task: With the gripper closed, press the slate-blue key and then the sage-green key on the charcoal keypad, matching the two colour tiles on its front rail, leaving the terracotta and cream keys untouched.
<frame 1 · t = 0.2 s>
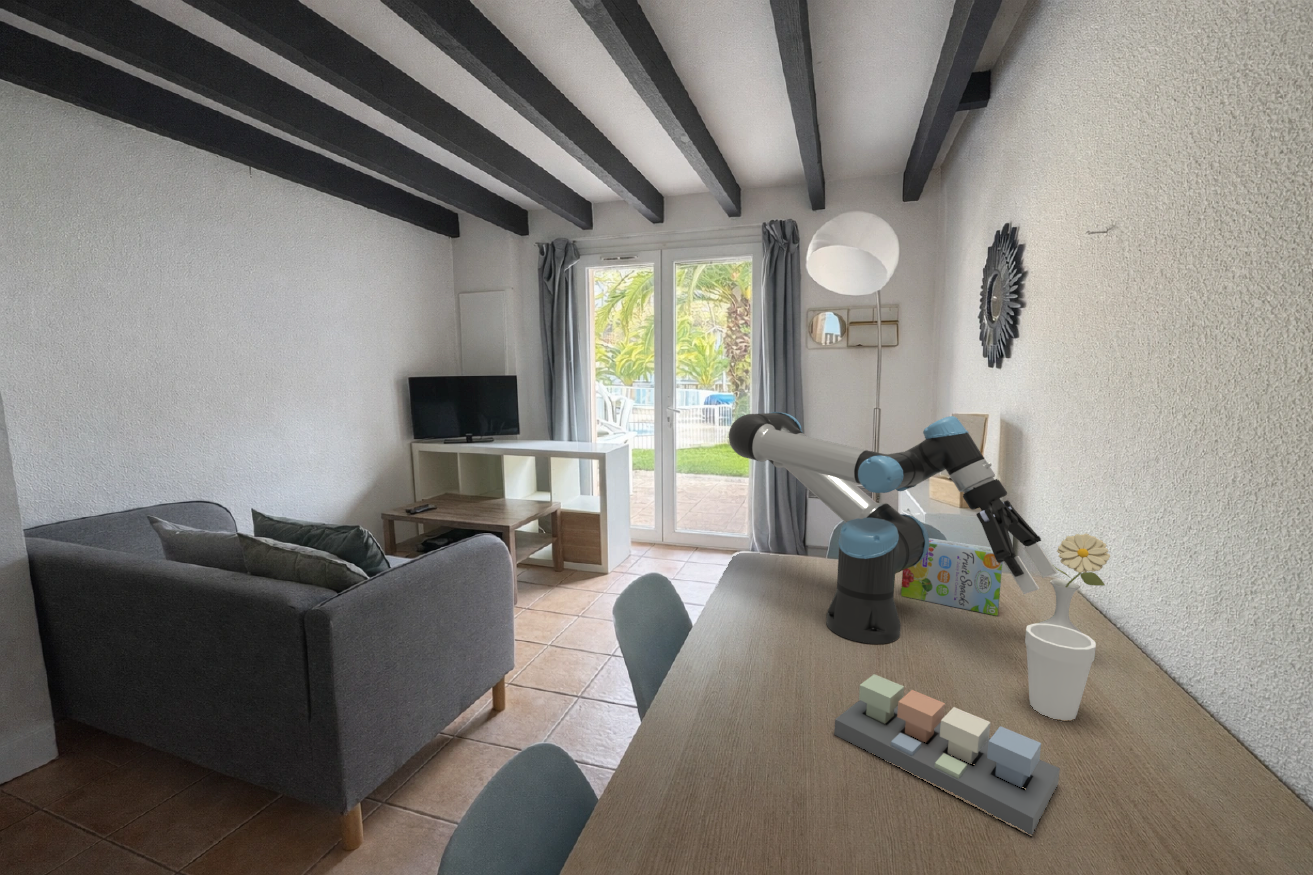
hand: (1041, 583, 110), 15 cm above the table, tool tilted 35°, fingers open, 13 cm apart
flower in vase: (1062, 650, 116), on the table
key cream: (964, 737, 79), point 5 cm above the table, slide at 0.0 cm
key terracotta: (920, 718, 83), point 5 cm above the table, slide at 0.0 cm
snack box: (947, 603, 139), on the table
keypad: (939, 758, 82), on the table
key slate: (1013, 759, 75), point 5 cm above the table, slide at 0.0 cm
foam cup: (1052, 711, 94), on the table
key sage: (880, 700, 88), point 5 cm above the table, slide at 0.0 cm
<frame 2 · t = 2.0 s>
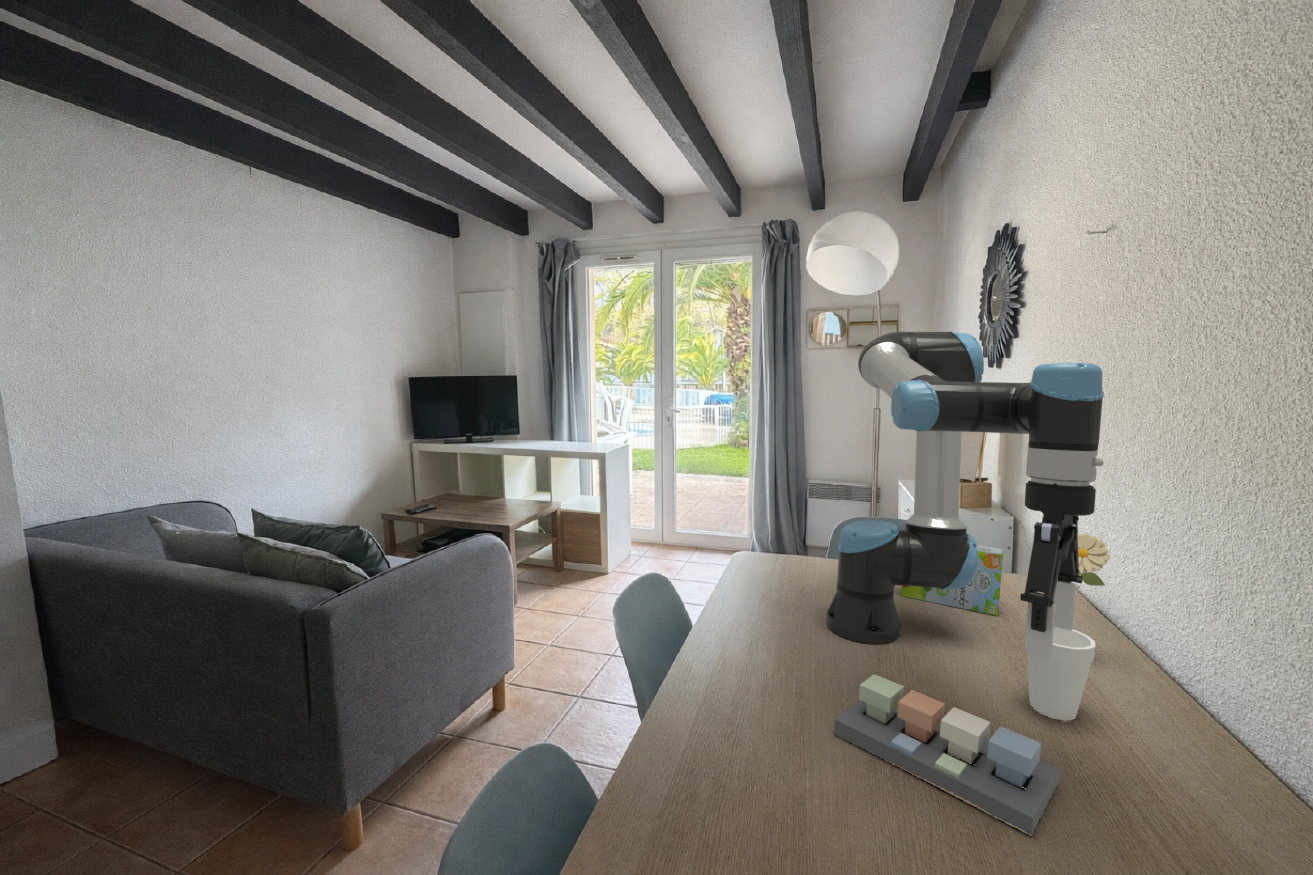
hand: (1050, 640, 75), 20 cm above the table, tool pointing down, fingers open, 13 cm apart
nothing on the table moved.
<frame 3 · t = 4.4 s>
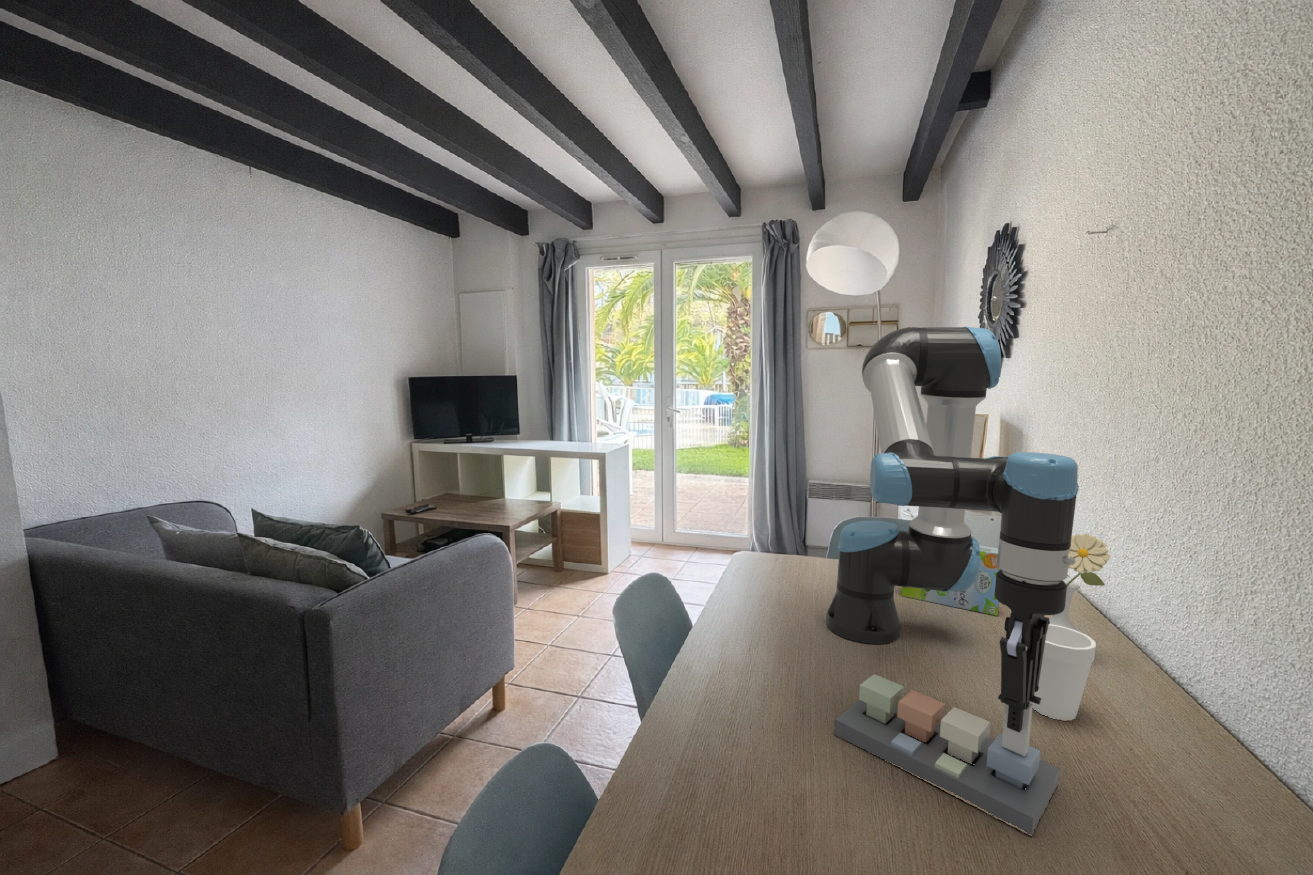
hand: (1014, 748, 74), 6 cm above the table, tool pointing down, fingers closed
key slate: (1012, 766, 75), point 4 cm above the table, slide at 1.1 cm, touching gripper
everything else where it was.
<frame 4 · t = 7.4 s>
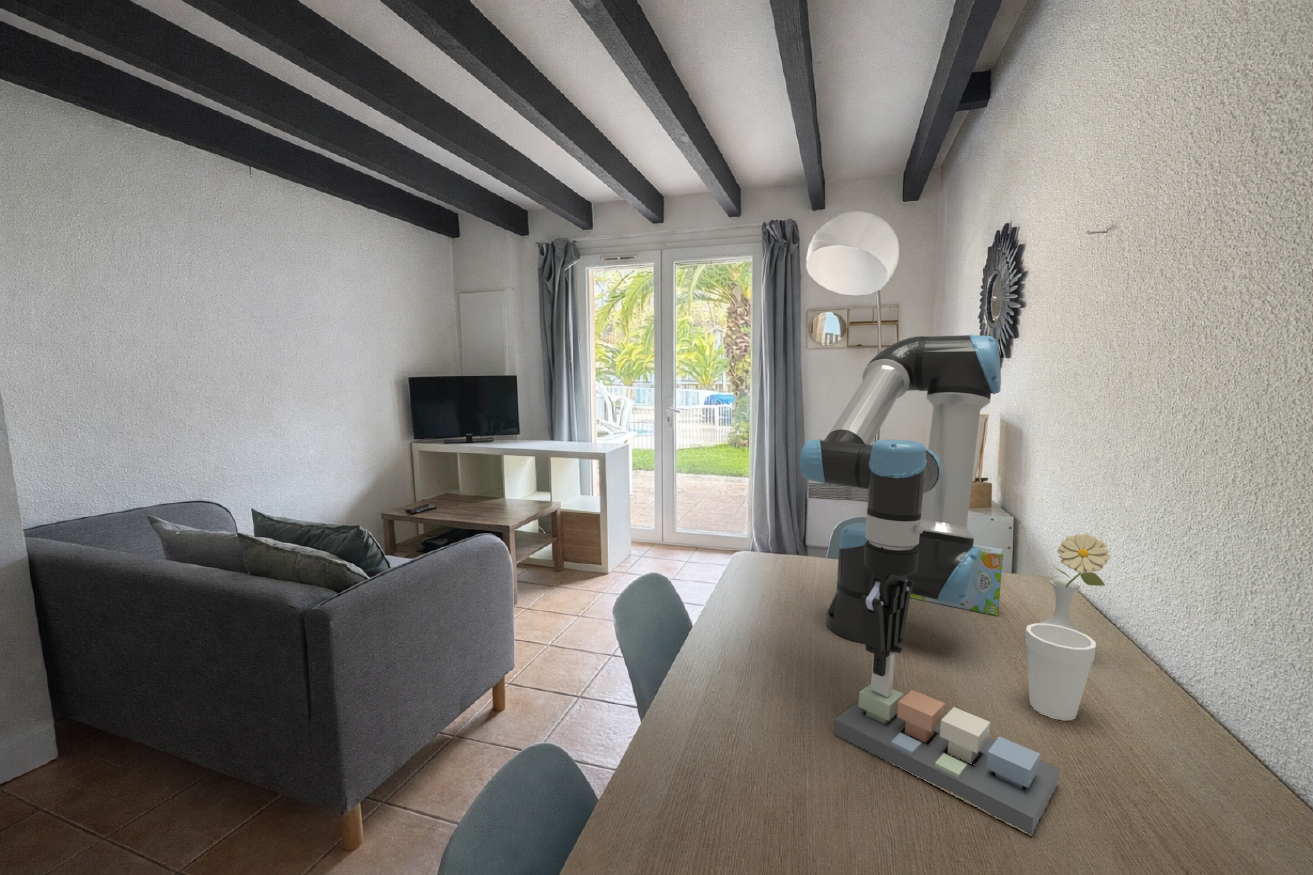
hand: (881, 691, 87), 6 cm above the table, tool pointing down, fingers closed
key slate: (1012, 769, 75), point 3 cm above the table, slide at 1.5 cm
key sage: (880, 707, 88), point 4 cm above the table, slide at 1.2 cm, touching gripper
everything else where it was.
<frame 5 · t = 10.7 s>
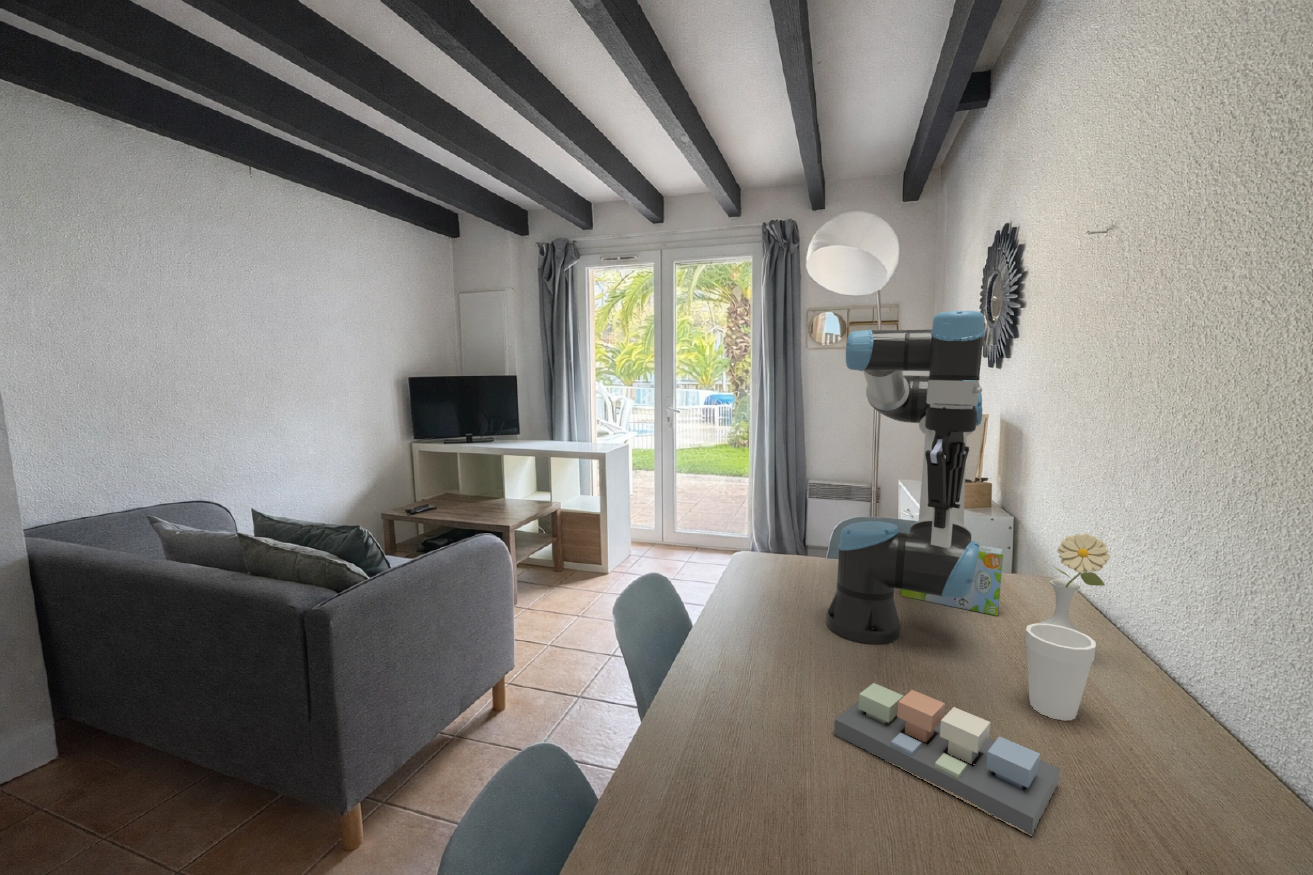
hand: (940, 545, 96), 26 cm above the table, tool pointing down, fingers closed
key sage: (880, 709, 88), point 3 cm above the table, slide at 1.5 cm
everything else where it was.
at the end: key slate slide at 1.5 cm; key sage slide at 1.5 cm; key terracotta slide at 0.0 cm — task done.
